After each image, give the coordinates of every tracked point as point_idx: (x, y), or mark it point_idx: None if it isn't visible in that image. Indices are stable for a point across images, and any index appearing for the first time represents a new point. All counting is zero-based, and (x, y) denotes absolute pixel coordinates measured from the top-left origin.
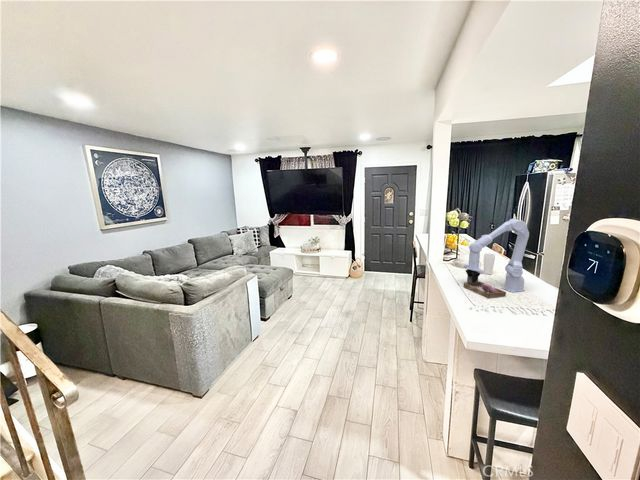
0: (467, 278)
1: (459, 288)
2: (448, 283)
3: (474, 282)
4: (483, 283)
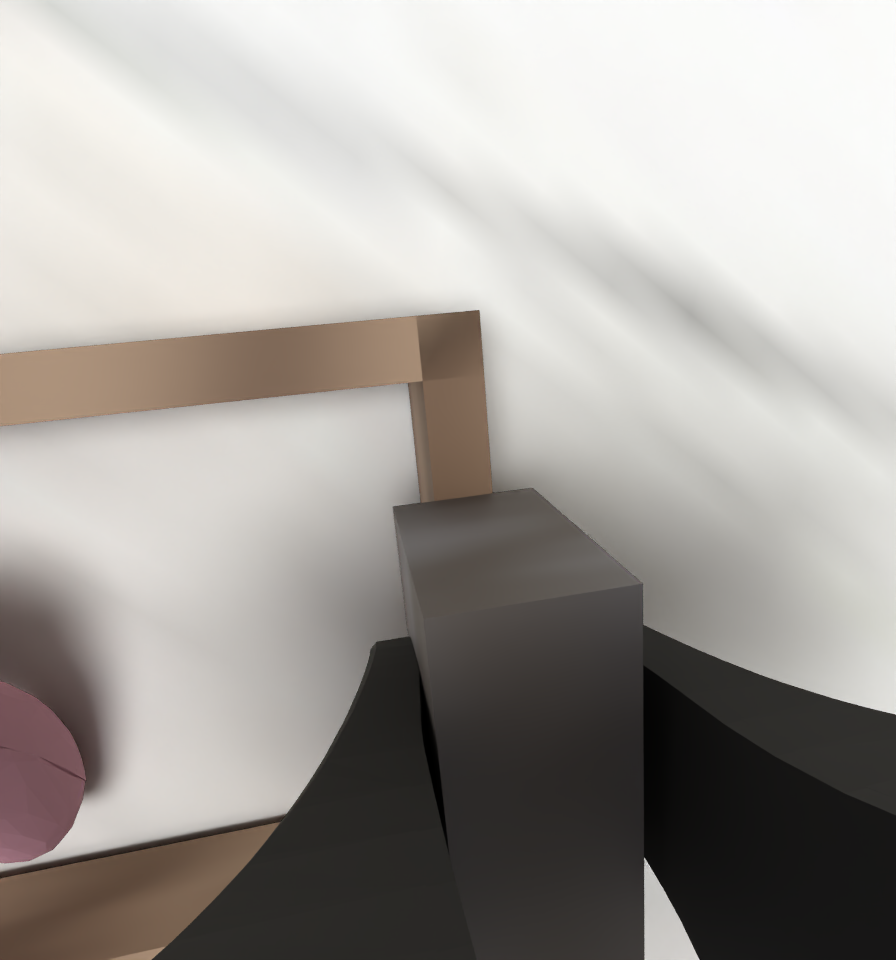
0: (581, 544)
1: (355, 84)
2: (843, 43)
3: None
4: None
